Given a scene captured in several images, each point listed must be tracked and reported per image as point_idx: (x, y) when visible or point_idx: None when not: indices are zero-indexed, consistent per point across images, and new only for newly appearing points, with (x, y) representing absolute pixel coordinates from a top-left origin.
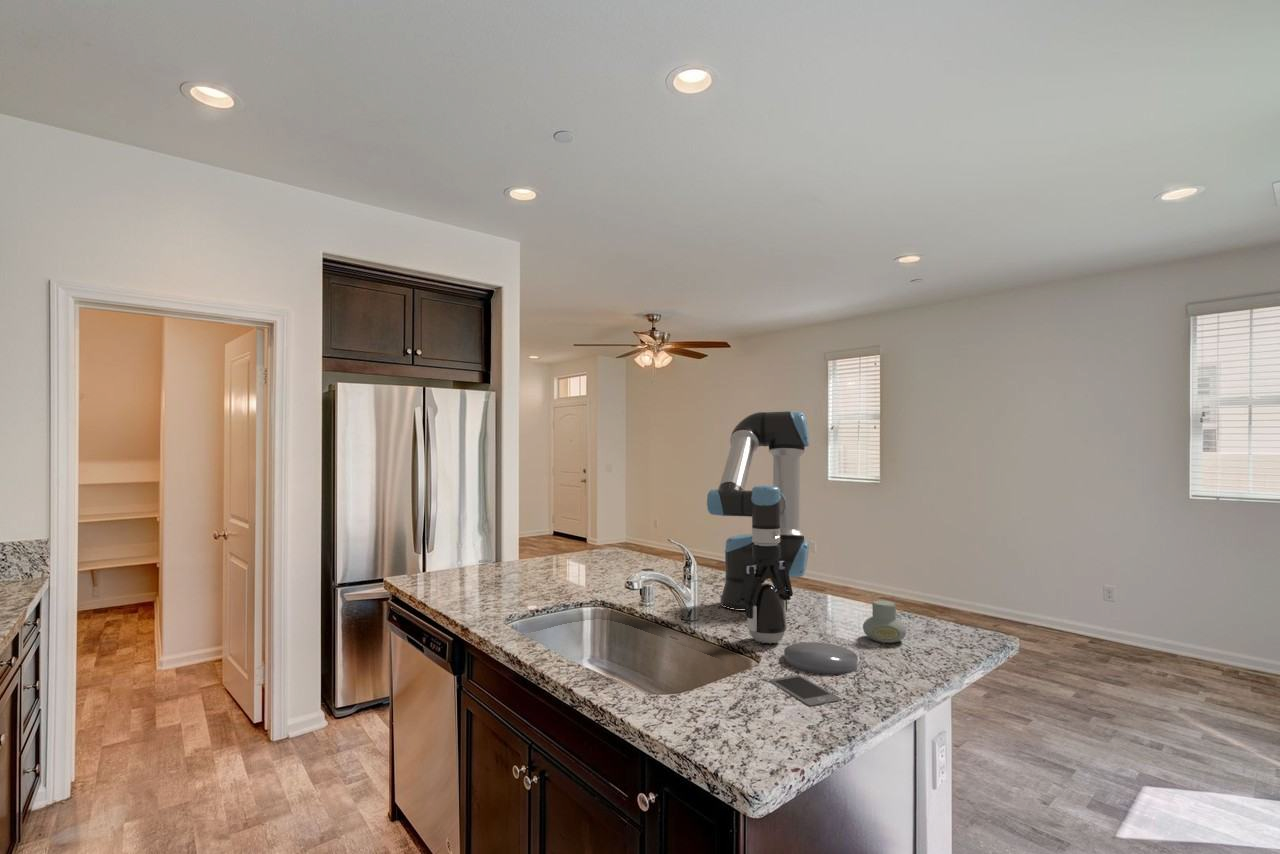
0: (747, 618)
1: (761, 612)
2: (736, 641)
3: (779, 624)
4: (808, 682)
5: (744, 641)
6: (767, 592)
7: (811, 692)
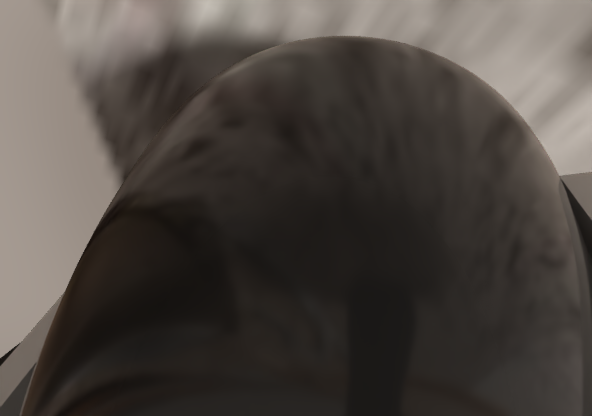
0: (60, 299)
1: None
2: (114, 67)
3: None
4: None
5: (179, 93)
6: None
7: None
